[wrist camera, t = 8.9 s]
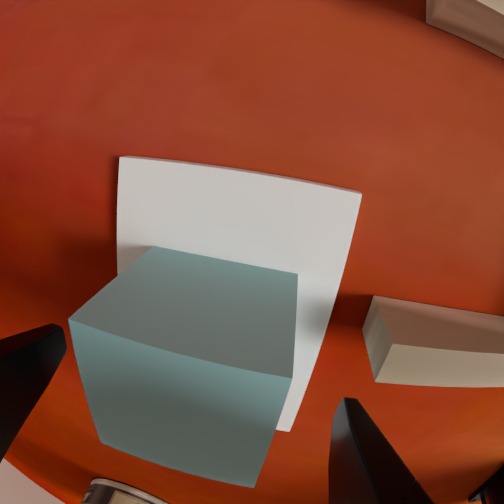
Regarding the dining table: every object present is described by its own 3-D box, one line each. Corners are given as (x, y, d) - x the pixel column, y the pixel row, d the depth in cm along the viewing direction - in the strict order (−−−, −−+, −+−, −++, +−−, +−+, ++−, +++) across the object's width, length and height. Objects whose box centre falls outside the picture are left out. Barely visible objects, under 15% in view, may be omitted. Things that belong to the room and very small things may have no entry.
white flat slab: (290, 422, 14) (289, 431, 13) (133, 384, 14) (128, 392, 14) (358, 191, 10) (361, 194, 9) (128, 155, 10) (119, 156, 10)
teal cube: (271, 383, 12) (254, 488, 8) (154, 356, 13) (100, 442, 8) (298, 274, 10) (292, 378, 6) (154, 245, 11) (68, 318, 6)
